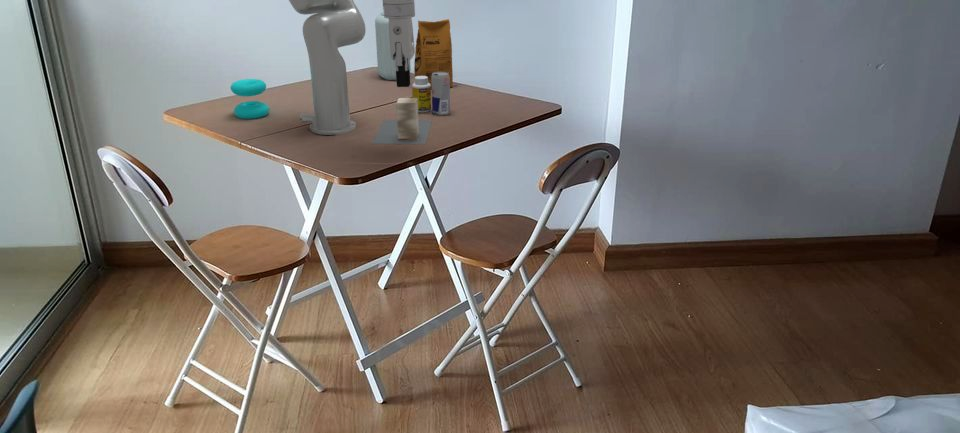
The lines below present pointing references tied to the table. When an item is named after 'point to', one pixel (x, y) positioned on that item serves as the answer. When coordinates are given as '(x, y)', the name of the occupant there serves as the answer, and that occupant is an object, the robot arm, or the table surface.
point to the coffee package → (433, 49)
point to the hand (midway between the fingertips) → (403, 86)
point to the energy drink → (440, 93)
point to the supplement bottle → (422, 93)
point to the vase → (384, 49)
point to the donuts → (251, 107)
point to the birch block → (407, 118)
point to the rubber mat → (390, 133)
